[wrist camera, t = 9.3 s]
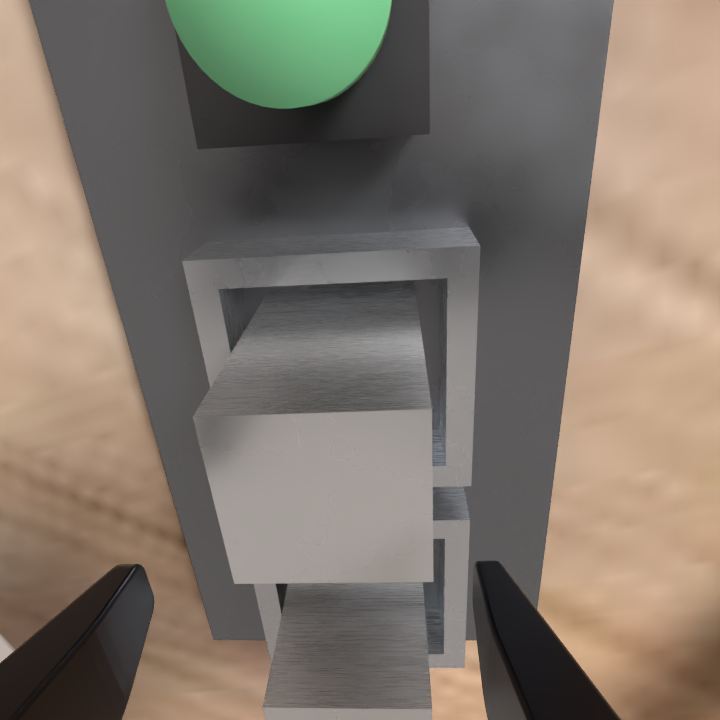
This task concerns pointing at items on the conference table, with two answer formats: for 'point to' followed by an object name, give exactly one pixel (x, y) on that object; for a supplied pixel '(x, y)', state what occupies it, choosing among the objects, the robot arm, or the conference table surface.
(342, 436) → the aluminium block
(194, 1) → the button
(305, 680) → the block
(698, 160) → the conference table surface
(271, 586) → the dark grey fixture board
